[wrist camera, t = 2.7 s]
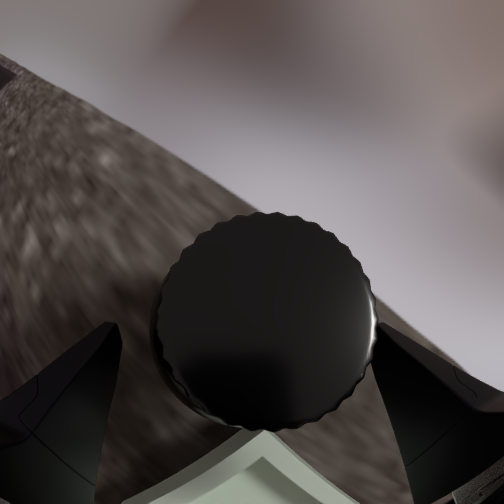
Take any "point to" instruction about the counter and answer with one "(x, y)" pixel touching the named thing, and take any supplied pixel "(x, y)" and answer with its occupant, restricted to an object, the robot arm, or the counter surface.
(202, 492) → the mint green square tray
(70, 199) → the counter surface
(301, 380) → the supplement bottle
